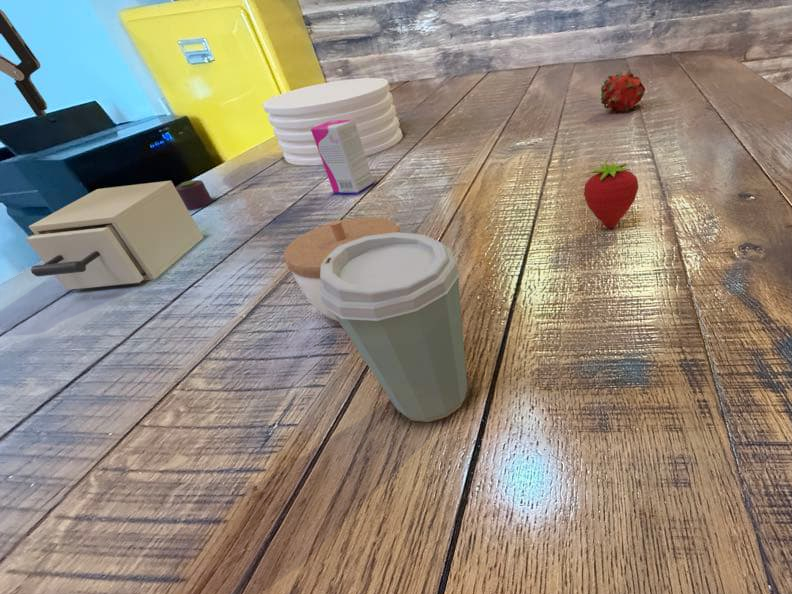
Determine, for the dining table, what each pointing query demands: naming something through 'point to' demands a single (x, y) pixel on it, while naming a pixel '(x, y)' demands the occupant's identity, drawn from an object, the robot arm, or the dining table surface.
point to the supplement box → (343, 157)
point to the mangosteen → (194, 194)
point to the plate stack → (333, 116)
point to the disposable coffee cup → (402, 318)
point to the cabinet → (135, 222)
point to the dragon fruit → (622, 92)
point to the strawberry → (611, 193)
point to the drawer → (85, 257)
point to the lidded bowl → (327, 251)
